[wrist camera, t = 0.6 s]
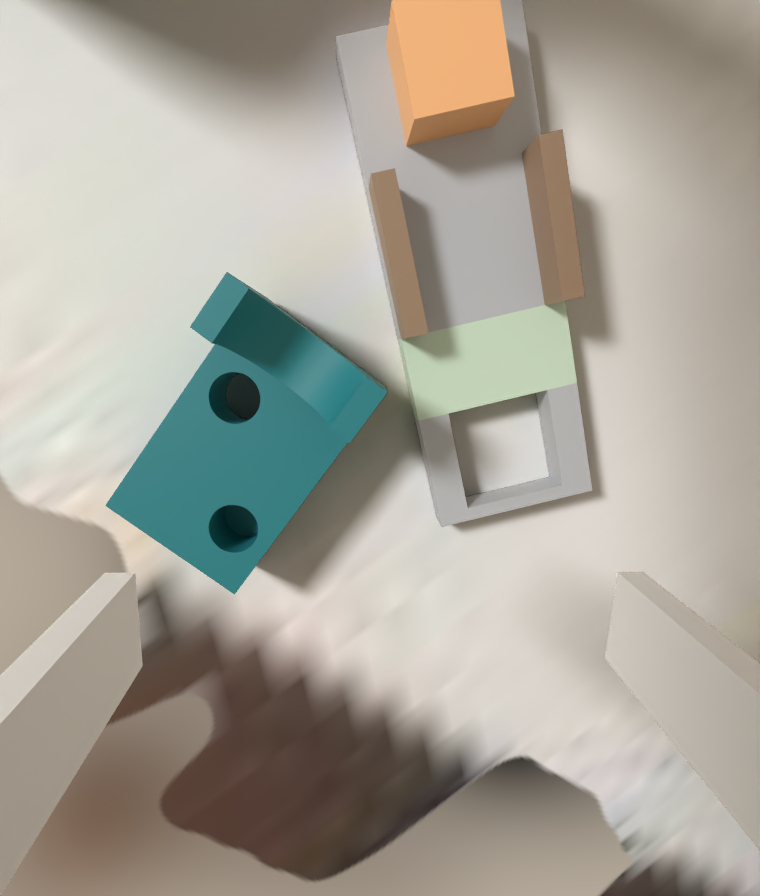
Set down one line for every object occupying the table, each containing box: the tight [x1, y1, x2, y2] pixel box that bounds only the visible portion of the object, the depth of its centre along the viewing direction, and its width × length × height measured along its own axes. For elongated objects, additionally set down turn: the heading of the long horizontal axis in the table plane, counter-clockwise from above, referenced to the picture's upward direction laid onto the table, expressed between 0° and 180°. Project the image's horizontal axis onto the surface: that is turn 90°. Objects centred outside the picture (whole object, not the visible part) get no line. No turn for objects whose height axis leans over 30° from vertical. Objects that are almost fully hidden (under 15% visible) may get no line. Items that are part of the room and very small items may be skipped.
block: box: [386, 0, 515, 146], centre depth 30 cm, size 6×6×4 cm
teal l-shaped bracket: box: [106, 272, 387, 594], centre depth 34 cm, size 18×11×10 cm, turn 143°
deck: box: [336, 0, 592, 527], centre depth 35 cm, size 34×12×6 cm, turn 13°
